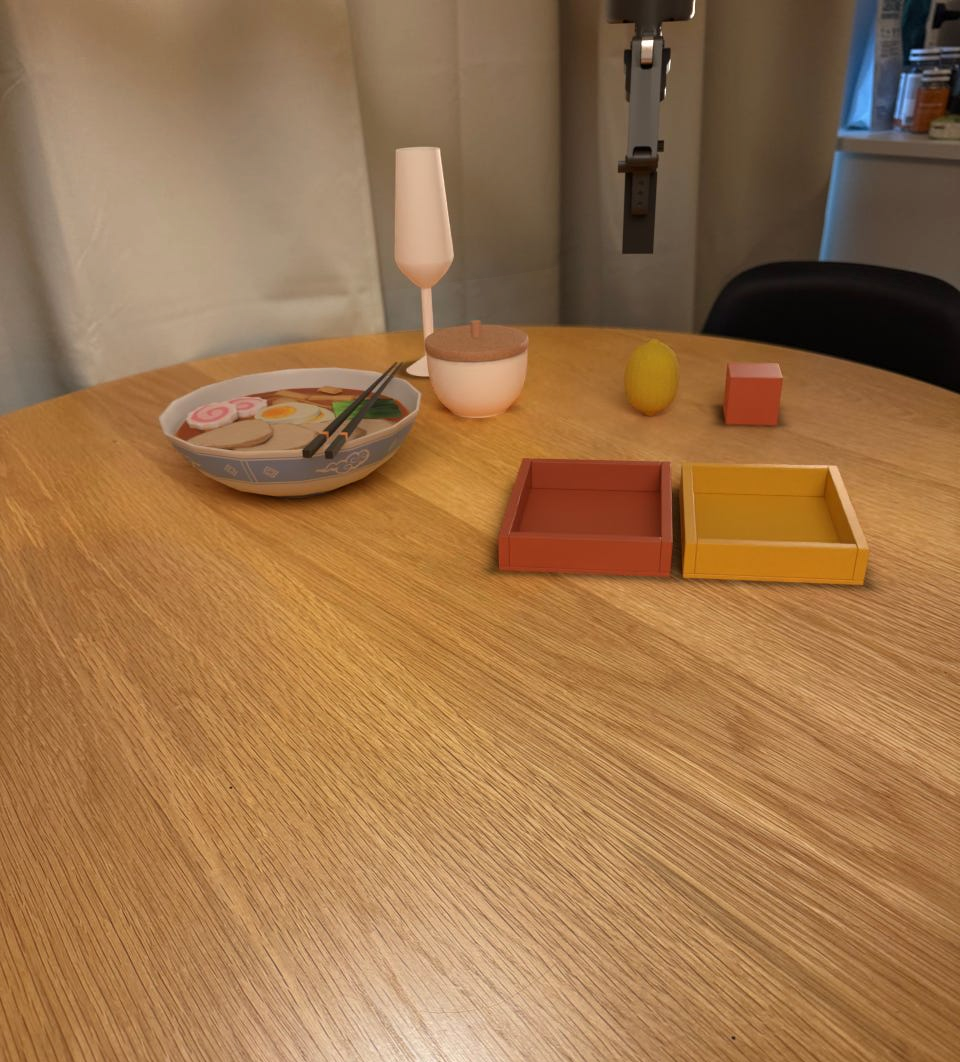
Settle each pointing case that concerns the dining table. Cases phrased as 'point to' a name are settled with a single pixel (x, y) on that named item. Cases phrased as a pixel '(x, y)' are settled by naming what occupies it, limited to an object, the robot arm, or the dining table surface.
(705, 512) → the yellow tray
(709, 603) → the dining table surface
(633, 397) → the lemon
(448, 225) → the champagne flute
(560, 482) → the terracotta tray
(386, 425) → the ramen bowl
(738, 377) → the block
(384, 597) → the dining table surface
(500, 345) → the lidded sugar bowl
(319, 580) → the dining table surface
